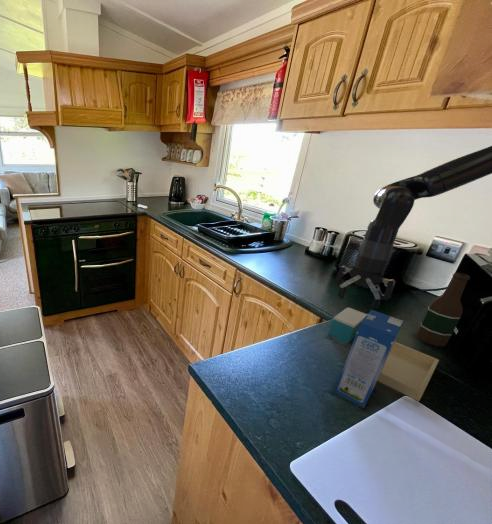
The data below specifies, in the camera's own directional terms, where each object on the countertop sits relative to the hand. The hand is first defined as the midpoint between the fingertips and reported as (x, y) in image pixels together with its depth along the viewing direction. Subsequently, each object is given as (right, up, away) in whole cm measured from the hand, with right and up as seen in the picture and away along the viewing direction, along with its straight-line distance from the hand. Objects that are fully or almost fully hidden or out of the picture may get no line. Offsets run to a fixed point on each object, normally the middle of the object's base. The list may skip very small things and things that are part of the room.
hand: (356, 303), depth 91 cm
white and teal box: (-1, -11, +4) cm, 12 cm away
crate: (+2, -17, -10) cm, 20 cm away
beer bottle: (+28, -13, +5) cm, 32 cm away
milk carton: (-15, -19, -19) cm, 31 cm away
